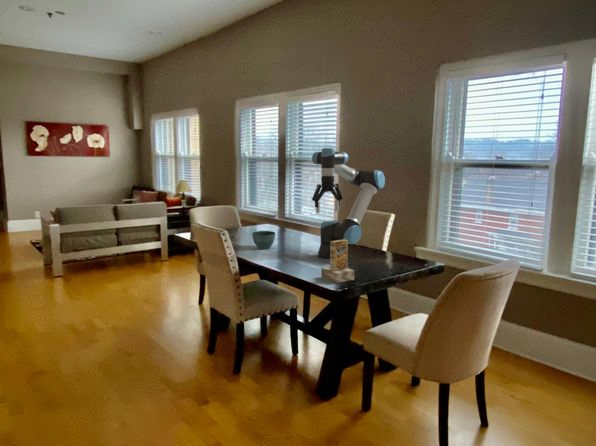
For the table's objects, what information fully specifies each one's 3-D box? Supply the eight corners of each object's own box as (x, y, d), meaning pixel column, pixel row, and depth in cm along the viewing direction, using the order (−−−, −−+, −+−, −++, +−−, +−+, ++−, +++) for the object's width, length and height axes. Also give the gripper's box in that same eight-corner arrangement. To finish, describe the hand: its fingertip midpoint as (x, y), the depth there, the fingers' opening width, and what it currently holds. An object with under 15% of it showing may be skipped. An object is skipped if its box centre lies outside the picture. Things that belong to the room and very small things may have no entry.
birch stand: (339, 273, 239) (339, 265, 238) (354, 279, 228) (354, 270, 227) (321, 277, 233) (321, 268, 232) (336, 283, 222) (336, 273, 221)
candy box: (334, 271, 226) (335, 242, 223) (329, 269, 229) (330, 240, 227) (347, 268, 230) (348, 240, 228) (342, 266, 234) (343, 239, 232)
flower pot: (278, 249, 300) (278, 234, 298) (255, 251, 295) (255, 235, 293) (271, 245, 315) (271, 230, 313) (249, 246, 310) (249, 231, 308)
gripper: (341, 174, 258) (340, 210, 262) (306, 175, 245) (305, 213, 249) (349, 175, 252) (348, 211, 255) (313, 176, 239) (313, 214, 242)
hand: (327, 212), depth 252 cm, fingers open, 13 cm apart
